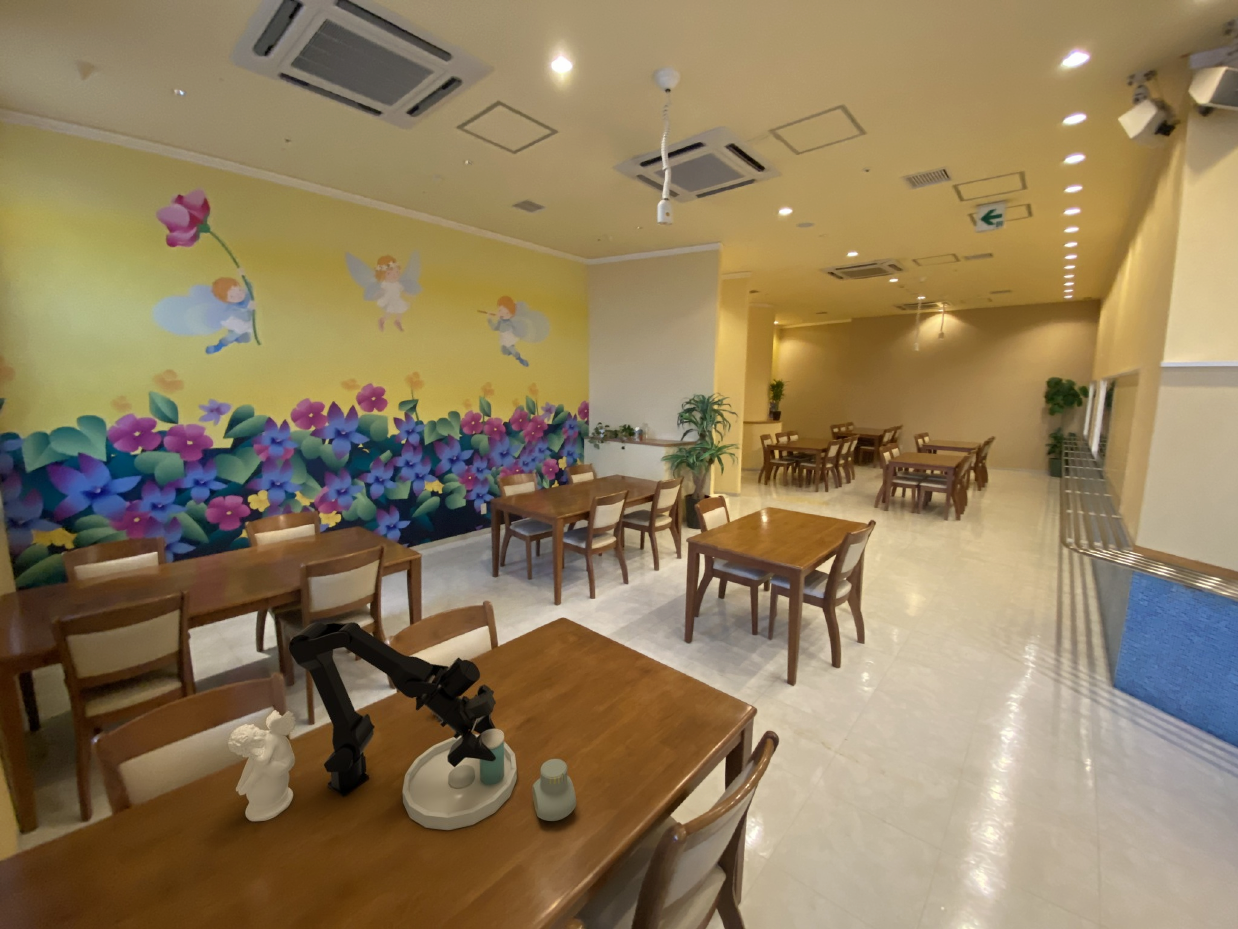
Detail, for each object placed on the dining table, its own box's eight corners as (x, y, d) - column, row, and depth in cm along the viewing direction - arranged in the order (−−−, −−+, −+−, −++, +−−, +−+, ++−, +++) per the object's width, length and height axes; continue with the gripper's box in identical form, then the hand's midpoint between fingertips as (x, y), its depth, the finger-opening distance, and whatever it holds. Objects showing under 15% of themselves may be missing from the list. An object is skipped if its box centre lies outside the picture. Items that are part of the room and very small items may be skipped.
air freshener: (530, 794, 114) (530, 755, 112) (565, 784, 116) (565, 746, 115) (540, 834, 103) (540, 791, 102) (578, 822, 106) (578, 781, 105)
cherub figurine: (231, 828, 104) (218, 733, 100) (257, 783, 115) (246, 697, 112) (297, 815, 107) (286, 722, 103) (315, 772, 119) (306, 688, 115)
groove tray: (460, 849, 100) (459, 836, 99) (379, 799, 111) (378, 787, 111) (537, 767, 121) (537, 756, 121) (463, 733, 133) (462, 723, 133)
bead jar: (504, 783, 114) (503, 744, 113) (478, 786, 113) (477, 747, 111) (505, 765, 120) (504, 727, 118) (480, 768, 119) (479, 730, 117)
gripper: (461, 710, 104) (514, 758, 105) (483, 662, 122) (528, 703, 124) (424, 744, 105) (477, 790, 106) (452, 691, 123) (497, 731, 125)
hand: (497, 750), depth 115 cm, fingers closed on bead jar, 5 cm apart
